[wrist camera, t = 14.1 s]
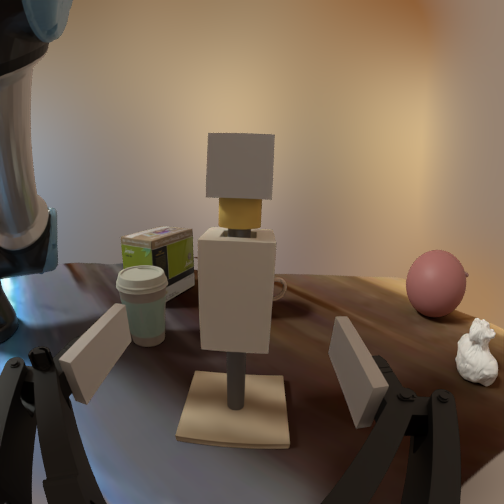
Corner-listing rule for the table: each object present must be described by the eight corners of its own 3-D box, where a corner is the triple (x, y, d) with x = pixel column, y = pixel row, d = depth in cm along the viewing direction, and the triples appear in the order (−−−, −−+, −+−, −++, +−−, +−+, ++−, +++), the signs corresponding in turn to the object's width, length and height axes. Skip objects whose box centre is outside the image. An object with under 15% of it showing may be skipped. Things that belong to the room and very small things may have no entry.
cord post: (256, 420, 26) (274, 134, 19) (212, 417, 26) (208, 133, 19) (257, 392, 31) (271, 143, 24) (217, 389, 31) (217, 142, 24)
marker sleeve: (268, 353, 23) (276, 243, 21) (201, 349, 23) (197, 239, 21) (266, 321, 29) (272, 229, 26) (211, 318, 29) (210, 227, 26)
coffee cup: (180, 344, 42) (175, 276, 39) (132, 356, 37) (120, 285, 34) (162, 322, 49) (157, 261, 46) (120, 331, 44) (110, 268, 41)
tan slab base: (288, 448, 23) (289, 443, 23) (176, 440, 23) (175, 435, 23) (282, 380, 35) (282, 375, 34) (196, 375, 35) (195, 370, 35)
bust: (448, 365, 37) (436, 325, 35) (478, 341, 35) (469, 299, 33) (476, 405, 25) (472, 367, 24) (510, 376, 23) (510, 332, 22)
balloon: (477, 322, 46) (494, 261, 42) (421, 332, 45) (440, 260, 42) (444, 298, 61) (455, 245, 57) (389, 302, 60) (400, 241, 56)
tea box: (165, 279, 71) (162, 224, 67) (195, 286, 68) (194, 228, 64) (125, 297, 58) (119, 234, 54) (157, 308, 54) (152, 239, 50)
